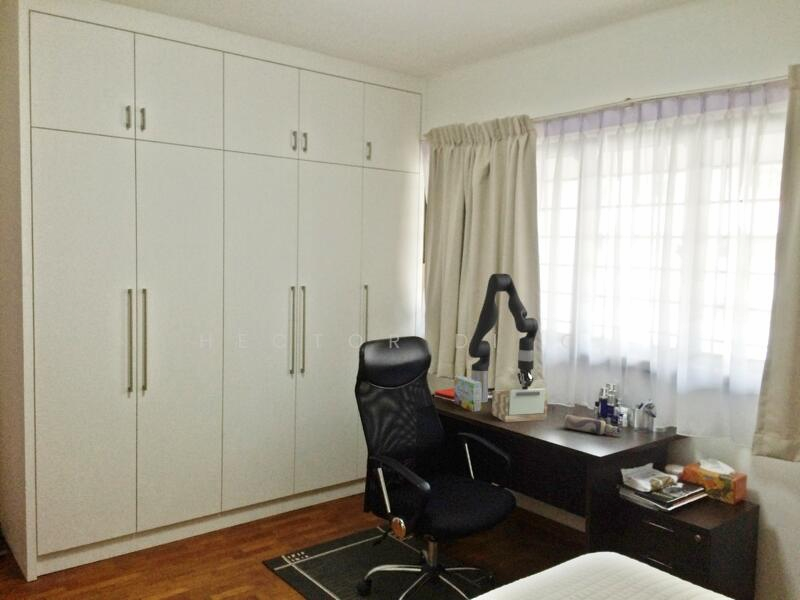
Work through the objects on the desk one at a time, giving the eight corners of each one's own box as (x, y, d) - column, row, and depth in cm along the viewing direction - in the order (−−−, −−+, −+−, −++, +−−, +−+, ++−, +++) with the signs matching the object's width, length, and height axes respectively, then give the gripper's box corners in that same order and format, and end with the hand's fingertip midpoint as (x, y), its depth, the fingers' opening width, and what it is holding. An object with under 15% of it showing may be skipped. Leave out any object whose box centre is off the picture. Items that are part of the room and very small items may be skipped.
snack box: (453, 403, 361) (453, 375, 360) (462, 402, 363) (462, 375, 363) (472, 412, 342) (473, 383, 341) (482, 411, 344) (482, 382, 343)
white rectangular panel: (507, 414, 324) (509, 390, 322) (542, 412, 329) (544, 388, 327) (509, 415, 322) (511, 391, 320) (544, 413, 327) (546, 389, 325)
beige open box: (491, 414, 338) (492, 390, 337) (531, 412, 344) (532, 388, 343) (505, 421, 322) (506, 397, 322) (546, 419, 329) (547, 395, 328)
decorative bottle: (562, 430, 309) (562, 415, 309) (568, 427, 316) (569, 412, 315) (618, 439, 294) (619, 424, 294) (624, 436, 301) (624, 421, 300)
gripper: (512, 357, 331) (511, 391, 332) (525, 361, 318) (523, 397, 320) (526, 356, 333) (525, 391, 334) (539, 361, 320) (538, 397, 322)
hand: (524, 394), depth 327 cm, fingers closed
